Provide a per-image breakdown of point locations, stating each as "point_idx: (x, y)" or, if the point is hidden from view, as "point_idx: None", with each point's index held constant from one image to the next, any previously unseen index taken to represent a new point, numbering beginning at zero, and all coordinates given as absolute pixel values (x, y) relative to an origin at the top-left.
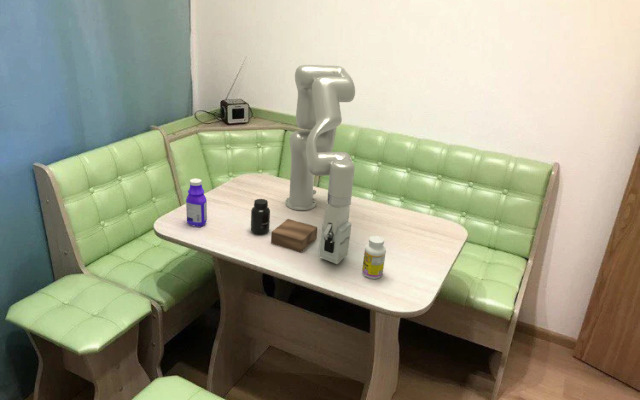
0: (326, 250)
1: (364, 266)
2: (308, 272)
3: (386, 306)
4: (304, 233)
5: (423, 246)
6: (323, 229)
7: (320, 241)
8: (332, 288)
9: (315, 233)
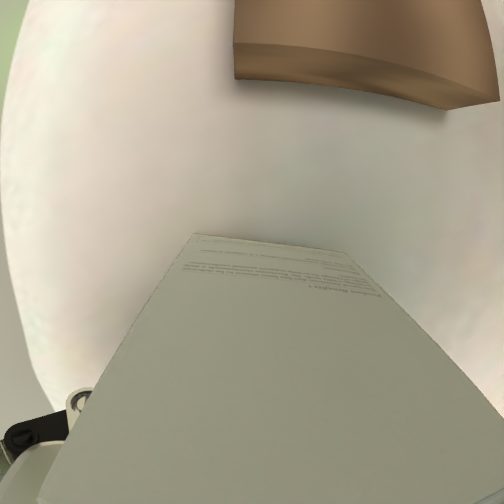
0: None
1: None
2: (57, 233)
3: None
4: (371, 22)
5: None
6: (7, 478)
7: (158, 286)
8: (42, 374)
9: (457, 99)
